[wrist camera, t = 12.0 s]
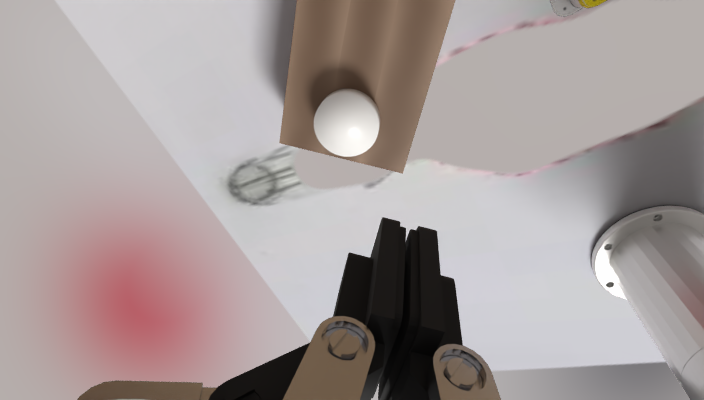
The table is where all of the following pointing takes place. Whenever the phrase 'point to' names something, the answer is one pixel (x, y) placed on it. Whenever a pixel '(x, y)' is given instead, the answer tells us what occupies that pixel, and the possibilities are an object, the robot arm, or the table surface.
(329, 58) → the press console
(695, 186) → the table surface
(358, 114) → the white glossy ovoid
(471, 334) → the table surface
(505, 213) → the table surface
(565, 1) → the emergency button
